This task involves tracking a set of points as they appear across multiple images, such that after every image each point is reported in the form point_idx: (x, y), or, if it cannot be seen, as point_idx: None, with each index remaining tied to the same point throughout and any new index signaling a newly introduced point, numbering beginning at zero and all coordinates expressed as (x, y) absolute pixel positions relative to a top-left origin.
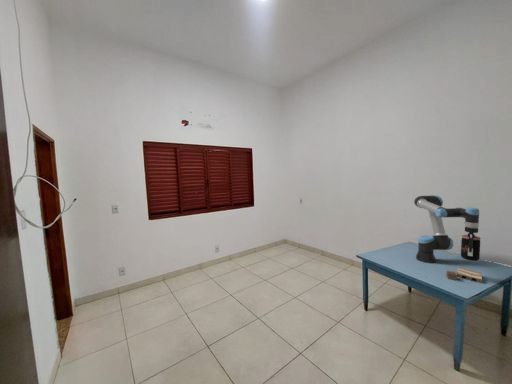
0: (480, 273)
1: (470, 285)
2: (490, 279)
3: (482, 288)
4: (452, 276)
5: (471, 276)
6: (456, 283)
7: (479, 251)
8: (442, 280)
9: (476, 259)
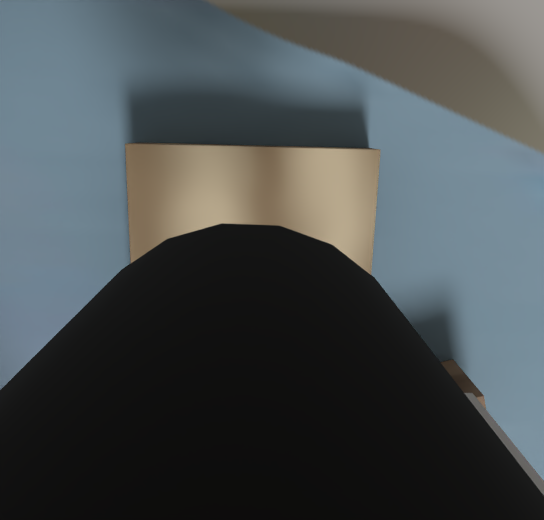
0: (165, 155)
1: (513, 247)
2: (177, 56)
3: (528, 150)
4: None
5: (357, 249)
6: (539, 356)
7: (319, 300)
8: (536, 459)
9: (375, 280)
